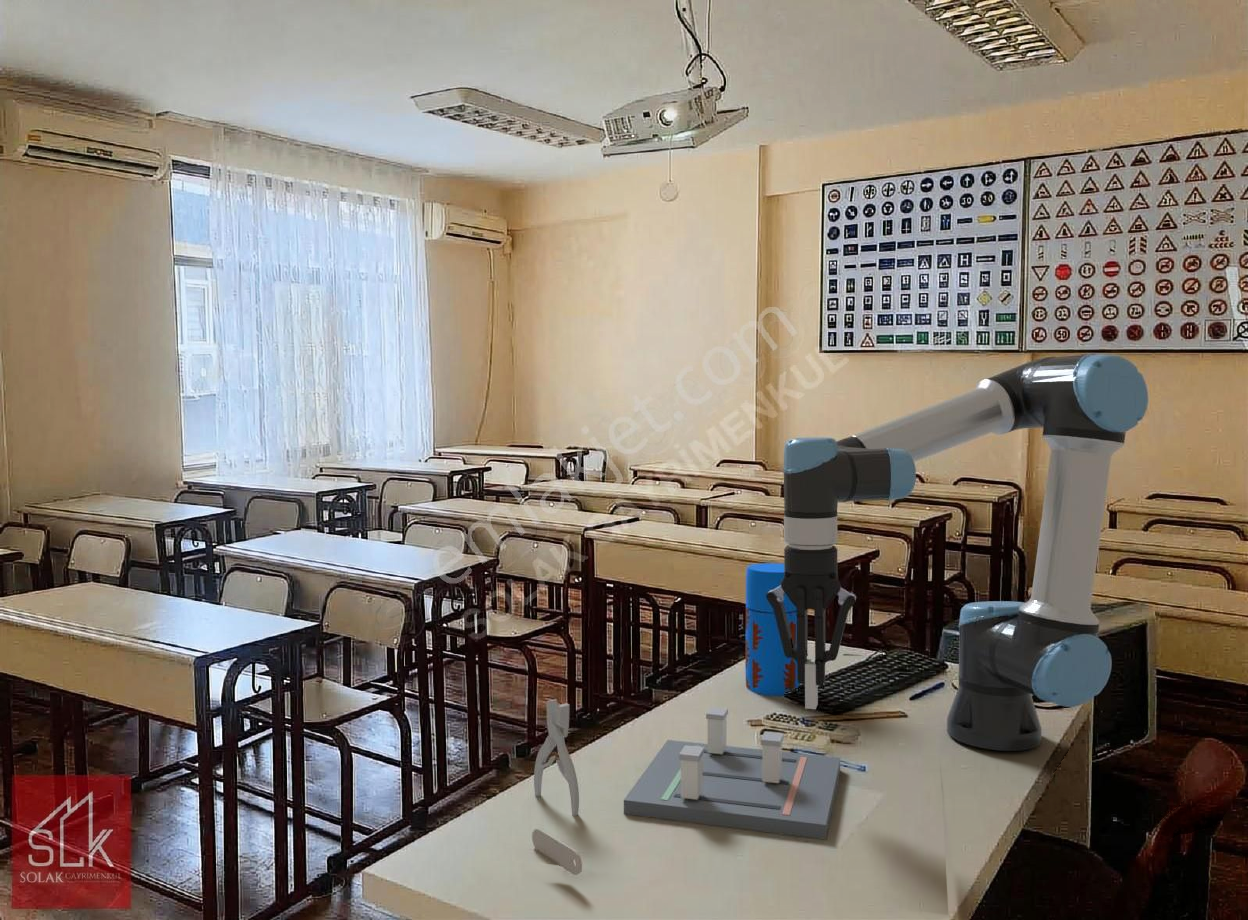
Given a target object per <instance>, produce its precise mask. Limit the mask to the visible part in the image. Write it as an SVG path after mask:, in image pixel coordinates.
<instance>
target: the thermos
mask: <svg viewBox="0 0 1248 920" xmlns="http://www.w3.org/2000/svg"><path fill="white" fill-rule="evenodd" d="M783 577H784V563H775V562H772V563H771V562H765V563H763V562H762V563H754V564H749V565H747V567H746V572H745V659H744V660H745V663H744V664H745V671H744V672H745V673H744V674H745V688H747V690H749V691H750V692H752V693H755V694H757V695H761V696H762V695H763V696H767V697H770V696H771V697H781V696H785V695H784V694H785V693H786V692H788V691H791V690H793V689H795V688H798V687H799V686H800V687H801V684H799V683H798V672H797V662H796V660H794V659H792V658H787V657H786V656H785V654H784V650H783V646H782V642H781V638H780V634H779V630H778V626H777V622H776V618H775V614H774V610H773V608H772V606H771V605H770V603H769V602H768V600H767V598H766V595H767V593H768V592H769V591H770V590H772V589H776V588H777V587H779V586H780V585H781V581H782V579H783ZM783 604H784V607H785V611H786V615H787V619H788V623H789V627H790V631H791V635H792V639H793V643H794V647H795V648H796V649H797V616H796V607H795V606H794V605H793V603H792V602H791V600H790V599H789V598H788V596H787V595H786V593H785V592H784V600H783Z"/></svg>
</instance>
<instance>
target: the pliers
mask: <svg viewBox="0 0 1248 920" xmlns="http://www.w3.org/2000/svg"><path fill="white" fill-rule="evenodd" d="M545 705H546V709H545V710H546V725H547V732H548V735H547V737H546V738H545V741H544V743H543V744H542V745H541V747H540V748H539V750H538V752H537V755H536V760H535V764H534V770H533V771H534V772H533V787H534V788H533V789H534V797H540V796H541V795H542V785H543V774H544V770H545V768H547V767H550V766H551V765H552V764H553V763H554V761H555V762H556V764H557V767H558V770H559V772H560V773H561V775H562V777H563V778H564V779H565V780H566V782H567V783H568V788H569V794H570V795H569V797H570V804H571V805H570V806H571V816H572V817H576V816H578V815H579V810H580V790H579V784H578V777H577V773H576V768H575V766H574V763H573V760H572V759H573V758H572V757H571V755H570V753H569V751H568V748H567V746H566V743H565V738H568V734H569V727H570V704H569V703H567V702H566V703H562V704H558V699H551V700H547V701H546V702H545ZM555 748H557V753H558V754H557V755H558V757H559V758H558V759H556V755H553V756H550V757H549V755H550V754H551V752H552V751H553V750H554V749H555ZM548 757H549V759H548ZM547 759H548V761H547ZM546 761H547V762H546Z"/></svg>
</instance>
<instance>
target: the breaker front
mask: <svg viewBox="0 0 1248 920" xmlns="http://www.w3.org/2000/svg"><path fill="white" fill-rule="evenodd" d="M703 754H704V747H697V746H688V745H685V746H684V748H683V749H682V751H681V752H680V754H679V760H681V798H688V799H696V800H698V798H699V796H700V794H701V792H702V764H703Z"/></svg>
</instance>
